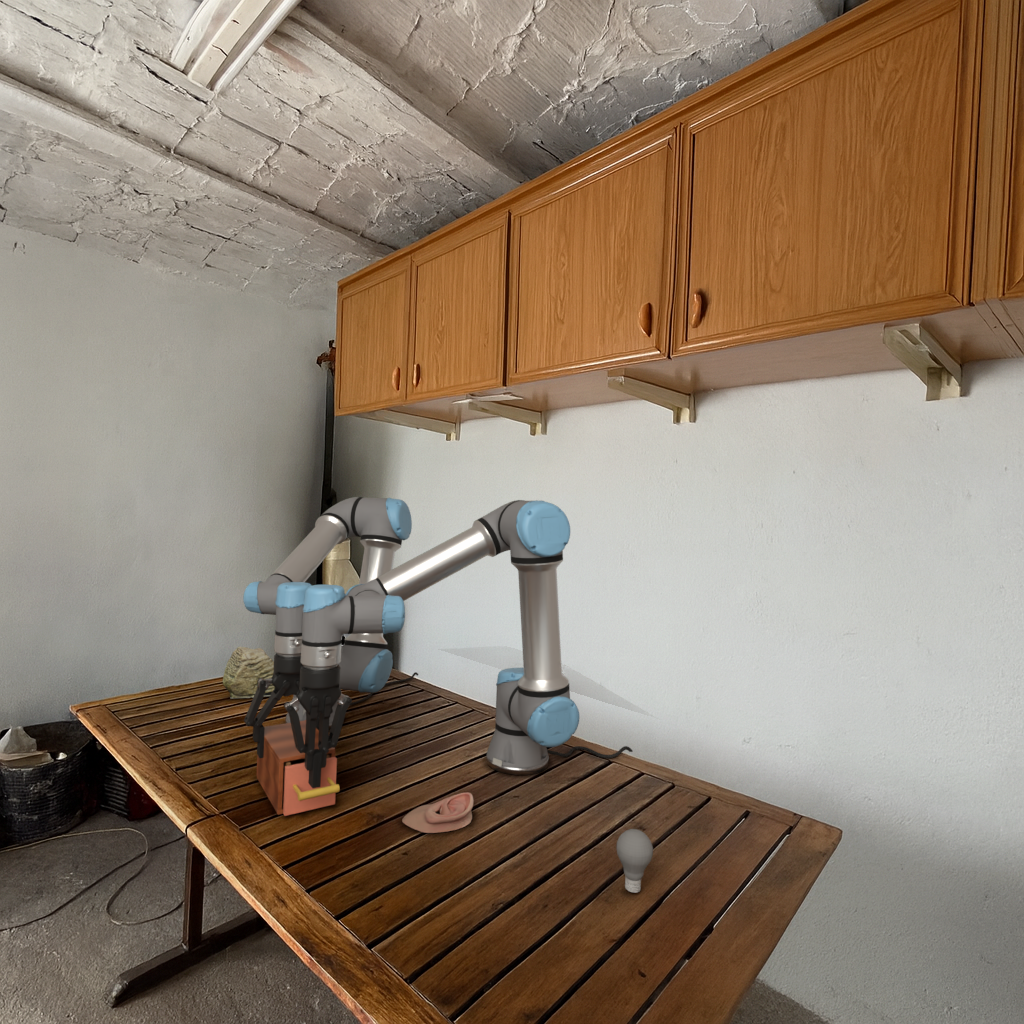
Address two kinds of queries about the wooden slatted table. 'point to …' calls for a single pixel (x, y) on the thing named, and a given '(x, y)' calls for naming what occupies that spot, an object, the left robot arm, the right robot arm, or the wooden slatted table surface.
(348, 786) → the wooden slatted table surface
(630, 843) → the light bulb
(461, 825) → the anatomical model
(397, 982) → the wooden slatted table surface
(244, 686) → the fossil
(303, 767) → the drawer
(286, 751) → the cabinet
